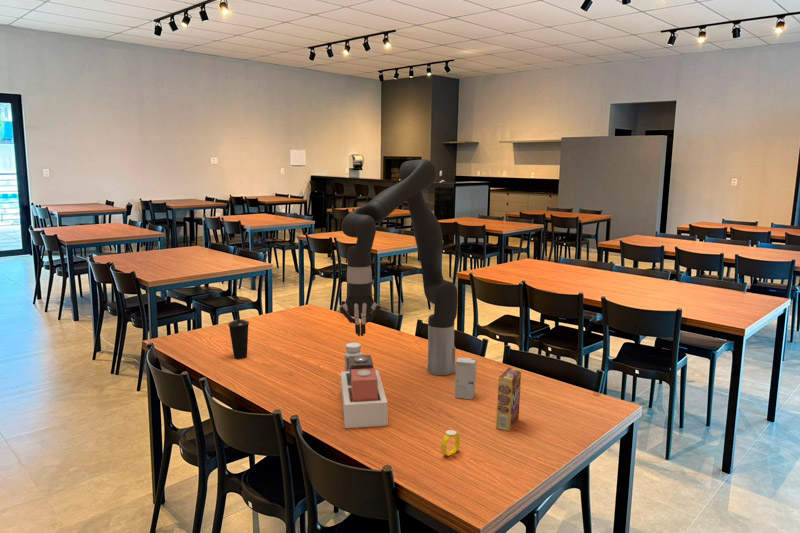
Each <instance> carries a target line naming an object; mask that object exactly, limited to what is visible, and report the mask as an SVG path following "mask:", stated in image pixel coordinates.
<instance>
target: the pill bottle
mask: <svg viewBox="0 0 800 533" xmlns="http://www.w3.org/2000/svg"><path fill="white" fill-rule="evenodd" d="M361 350H362V345H361V343H358V342H349V343H347V344H346V345H345V353H344V372H345V371H349V356H359V355H363V352H362V351H361Z"/></svg>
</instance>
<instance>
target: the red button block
mask: <svg viewBox="0 0 800 533" xmlns="http://www.w3.org/2000/svg"><path fill="white" fill-rule="evenodd" d="M375 370H376V369H375V368H374V367H373V368H370V369H351V393H352V400H353V402H363V401H378V379H377V376H376V372H375Z"/></svg>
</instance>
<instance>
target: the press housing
mask: <svg viewBox="0 0 800 533" xmlns="http://www.w3.org/2000/svg"><path fill="white" fill-rule="evenodd" d="M375 372H376V376H377V379H378V401H363V402H353V400H352V393H351V386H350V380H349V371H345V370H344V371H340V390H341V402H342V414H343V421H344V429H357V428H373V427H386V426H389V424H388V420H389V419H388V412H389V411H388V400H387V397H386V392H385V390H384V385H383V383H382V378H381V375H380V372H379V370H378V369H375Z"/></svg>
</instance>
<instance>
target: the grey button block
mask: <svg viewBox="0 0 800 533" xmlns="http://www.w3.org/2000/svg"><path fill="white" fill-rule="evenodd" d="M370 368H374V362H373V359H372V356H371V354H364V355H363V354H362V355H359V356H349V380H350V386H351V369H370Z"/></svg>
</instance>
